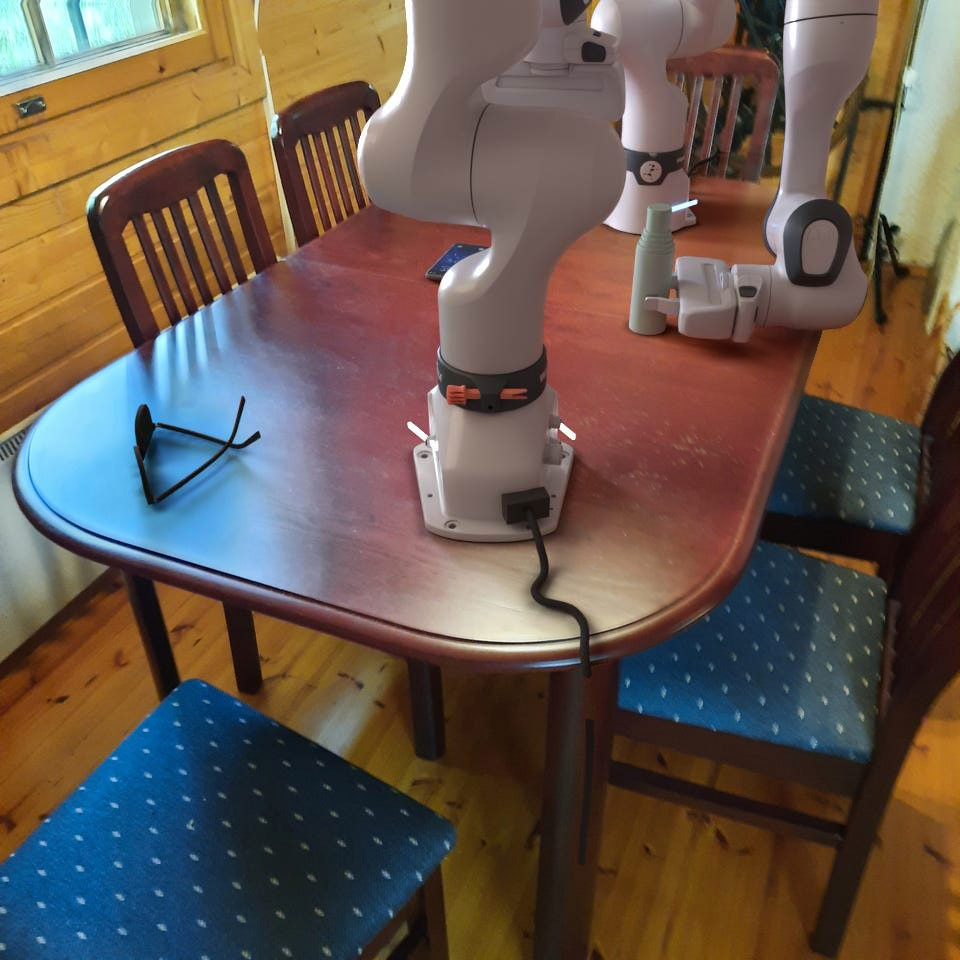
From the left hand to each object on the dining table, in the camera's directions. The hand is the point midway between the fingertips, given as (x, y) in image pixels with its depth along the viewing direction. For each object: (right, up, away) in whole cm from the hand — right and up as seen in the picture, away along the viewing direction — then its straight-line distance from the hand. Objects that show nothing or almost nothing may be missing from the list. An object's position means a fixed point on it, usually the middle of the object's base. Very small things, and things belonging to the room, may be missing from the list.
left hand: (549, 151), depth 121 cm
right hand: (+14, -19, +3) cm, 24 cm away
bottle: (+15, -24, +6) cm, 29 cm away
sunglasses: (-43, -44, -19) cm, 64 cm away
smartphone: (-13, -10, +26) cm, 31 cm away
